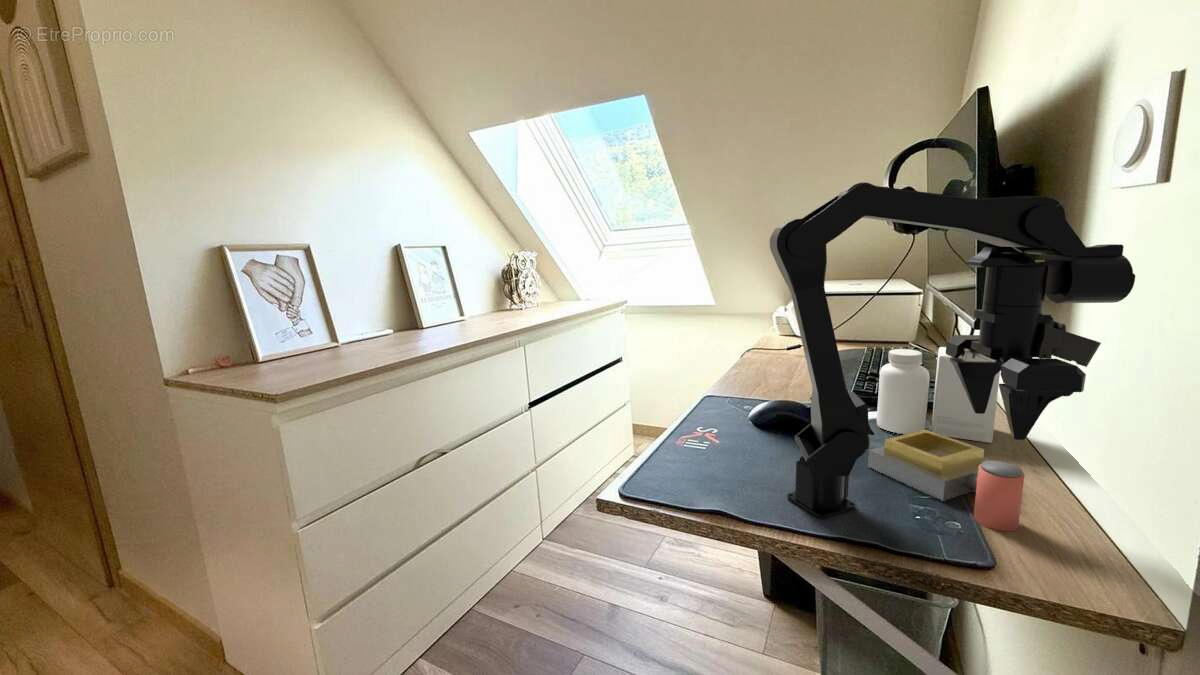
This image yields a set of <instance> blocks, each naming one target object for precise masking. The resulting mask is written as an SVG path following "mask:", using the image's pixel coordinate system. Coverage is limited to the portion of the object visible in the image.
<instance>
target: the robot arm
mask: <svg viewBox="0 0 1200 675" xmlns="http://www.w3.org/2000/svg"><path fill="white" fill-rule="evenodd" d="M1065 212H1066V211H1065V208H1064V207H1063V205H1062V203H1061V200H1059V199H1058V198H1056V197H1053V196H1050V195H1023V196H1022V195H1021V196H1020V195H1017V196H1001V197H999V196H998V197H983V198H982V197H980V198H979V197H977V198H974V197H965V196H958V195H949V194H942V193H934V192H926V191H919V190H909V189H904V188H903V189H902V188H894V187H887V186H880V185H874V184H873V183H871V182H858V183H855V184H853V185H849V186H847V187H845V188H844V189H842V190H841V191H840V192H839V193H838V194H837V195H836V196H834V197H832V199H830V200H828V201H827V202H825V203H824V204H822V205H820V206H819V207H817V208H815V209H814V210H812V211H811V212H809V213H807V214H806V215H805V216H803V217H802V218H796V219H789V220H787V221H784V222H782V223H780V224H779V225H778V226H776V227H775V228H774V230H773V231H772V233H771V234H770V237H769V249H770V252H771V255H772V256H773V259H774V262H775V264H776V266H777V268H778V270H779V272H780V275H781V276H782V278H783V280H784V282H785V284H786V286H787V288H788V290H789V292H790V295H791V300H792V304H793V307H794V312H795V316H796V317H795V318H796V322H797V326H798V330H799V335H800V338H801V339H800V340H801V343H802V346H803V352H804V355H805V361H806V365H807V369H808V374H809V379H810V384H811V387H812V388H811V389H812V394H811V401H810V420H811V421H810V423H809V424H807V425H806V426H805V427H804V428H803V429H802V430H800V431H799V432H798V433H797V434H795V435H794V440H795V442H796V445H797V448H798V450H799V451H800V453H801V456H800V457H799V460H797V461H796V462H795V489H794V491H793V492H789V493H787V494H786V498H787V499H788V500H789V501H791V502H793V503H794V504H796V505H797V506H799V507H800V508H802V509H804V510H806V512H809V513H811V514H812V515H814V516H815V517H817V518H819V519H825V518H829V517H831V516H835V515H838V514H841V513H844V512H848V511H851V510H854V509H856V503H855V502H854V501H851V500H850V499H848V496H849V476H850V473H851V472H852V470H853V468H854V465H855V464H856V462H857V459H859V458H860V457H863V455H864V454H865V453H866V452H867V451H869V448H870V436H874V435H875V432H874V430H872V428H871V426H870V423H869V408H868V405H867V404H866V402H864V401H863V400H862V399H861V397H860V396H859V395H858V394H856V393H855V391H851V392H848V390H847V385H846V380H845V376H844V372H843V368H842V362H841V358H840V353H839V349H838V344H837V341H836V336H835V335H836V334H835V331H834V326H833V325H834V324H833V323H832V322H833V321H832V317H831V312H830V307H829V303H828V298H827V294H826V289H825V281H826V273H827V265H828V264H827V262H828V261H827V258H828V256H827V244H828V243H830V242H831V241H833V240H835V239H836V238H837V237H839V236H840V235H842V234H843V233H844V232H845V231H847V230H848V229H850V227H852V226H853V225H854V224H855V223H857V222H858V221H860V220H861V219H862V218H865V219H871V220H880V221H884V222H885V221H887V222H892V223H893V222H894V223H899V224H900V223H901V224H907V225H908V224H909V225H913V226H914V225H915V226H923V227H930V228H937V229H943V230H944V229H945V230H950V231H951V230H952V231H953V232H957V233H960V234H962V235H965V236H967V237H970V238H972V239H974V240H976V241H981V242H984V243H987V244H990V245H993V246H984V247H983V248H982V249H981V251H980V252H978V253H977V254H976V255H974V256H973V257H971V258H970V259H968V260H967V261H966V265H967V266H968V267H975V268H986V270H985V280H984V291H983V298H982V308H981V309H976V308H975V309H974V315H973V318H975V319H979V320H980V325H979V326H980V327H979V334H954V335H953V336H951V337H950V338H948V340H946V344H945V345H946V346H945V347H946V354H947V355H949V356H951V357H953V358H950V362H952V364H953V366H954V368H955V370H956V372H957V374H958V376H959V378H960V380H961V383H962V385H963V387H964V389H965V392H966V394H967V396H968V399H969V401H970V403H971V406H972V408H973V410H974V412H975V413H977V414H984V413H985V411H986V408H987V405H988V401H989V397H990V393H991V390H992V386H993V382H994V377H995V375H996V374H997V373H998V372H1000V377H1001V380H1002V383H999V386H998V389H999V391H1000V395H1001V399H1002V404H1003V406H1004V411H1005V416H1006V419H1007V423H1008V427H1009V431H1010V434H1011V436H1012V437H1011V438H1012V439H1013V440H1015V441H1016V440H1017V441H1018V440H1019V441H1025V440H1026V439H1027V437H1028V435H1029V434H1030V432H1031V431H1032V429H1033V427H1034V426H1035V424H1036V423H1037V421H1038V419H1039V418H1040V416H1041V415H1042V413H1043V412H1044V410H1045V409H1046V408H1047V407H1048V406H1049V404H1050V403H1051V402H1053V401H1055V400H1057V399H1059V398H1062V397H1070V396H1072V395H1074V393H1083V392H1084V390H1085V389H1084V388H1085V382H1086V376H1087V374H1086V373H1085V372H1084V370H1082V369H1081V368H1080V367H1079V366H1082V367H1085V368H1087V367H1088V366H1089V364H1090V362H1091V361H1092V359H1093V357H1094V356H1095V354H1096V353H1097V351H1098V349H1099V347H1100V346H1101V344H1102V342H1100V341H1097V340H1094V339H1091V338H1088V337H1084V336H1081V335H1078V334H1075V333H1071V332H1068V331H1067V325H1066V324H1064V323H1062V322H1059V321H1058V322H1057V321H1055V320H1054V317H1052V314H1049V313H1044V312H1043V310H1044V303H1045V295H1046V296H1047V298H1048V299H1049V301H1051V302H1053V303H1055V304H1102V303H1103V304H1106V303H1107V304H1109V303H1112V304H1113V303H1118V302H1121V301H1123V300H1125V299H1126V298H1127V296H1129V295H1130V293H1131V292H1132V290H1133V288H1134V285H1135V281H1136V274H1135V273H1134V271H1133V270H1134V269H1133V266H1132V264H1131V262H1130V260H1129V259H1128V258H1127V257H1126V256H1125V255H1123V253H1124V245H1123V244H1114V243H1113V244H1111V243H1109V244H1095V245H1091V246H1086V245H1085V244H1084V242H1083V241H1082V240H1081V238H1080V237H1079V235H1078V233H1076V232H1075V231H1074V229H1073V227H1072V226H1071V225H1070V224H1069V222H1068V221H1067V219H1066V218H1067V217H1066V213H1065ZM995 246H998V247H1005V248H1006V247H1009V248H1010V247H1011V248H1013V249H1014V250H1016V251H1017V252H1016V251H1015V252H1001V251H1000V250H999V249H998V248H997V247H995ZM1031 254H1032V255H1044V259H1043V260H1041V259H1039V260H1037V259H1035V258H1034V257H1033V256H1032V255H1031ZM1052 356H1053V357H1055V358H1053V357H1052ZM1058 358H1059V359H1058ZM1061 359H1062V360H1061ZM1065 360H1066V361H1065ZM1070 362H1075V363H1076V364H1077V365H1076V364H1072V363H1070ZM869 435H870V436H869Z"/></svg>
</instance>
